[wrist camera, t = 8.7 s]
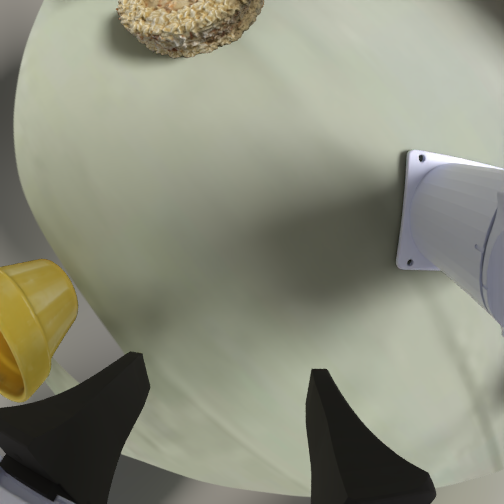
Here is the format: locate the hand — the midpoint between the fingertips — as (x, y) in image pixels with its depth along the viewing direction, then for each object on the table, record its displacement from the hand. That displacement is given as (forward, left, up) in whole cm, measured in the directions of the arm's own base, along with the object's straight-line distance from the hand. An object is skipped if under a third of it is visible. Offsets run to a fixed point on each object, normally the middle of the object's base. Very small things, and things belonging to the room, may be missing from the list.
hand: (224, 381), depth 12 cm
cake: (+4, -20, -10) cm, 23 cm away
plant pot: (+18, +2, -10) cm, 20 cm away
